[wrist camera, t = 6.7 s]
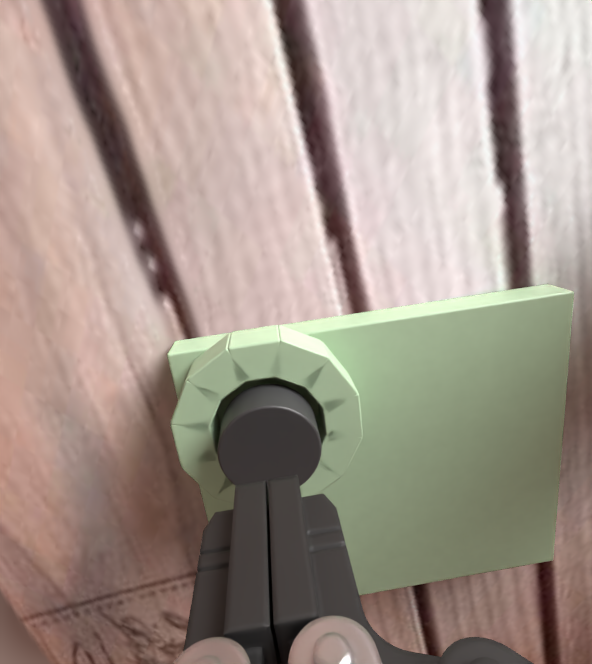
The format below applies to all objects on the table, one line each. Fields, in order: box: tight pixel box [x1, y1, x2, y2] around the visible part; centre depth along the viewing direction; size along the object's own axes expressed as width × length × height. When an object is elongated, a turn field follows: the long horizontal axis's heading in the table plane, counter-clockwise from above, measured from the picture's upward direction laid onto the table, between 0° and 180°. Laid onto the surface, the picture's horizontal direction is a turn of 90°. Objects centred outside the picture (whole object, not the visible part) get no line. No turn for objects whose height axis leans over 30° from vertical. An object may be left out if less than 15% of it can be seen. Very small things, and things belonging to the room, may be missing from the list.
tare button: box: [217, 384, 322, 486], centre depth 13 cm, size 3×3×2 cm
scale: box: [167, 284, 574, 595], centre depth 16 cm, size 14×12×3 cm
